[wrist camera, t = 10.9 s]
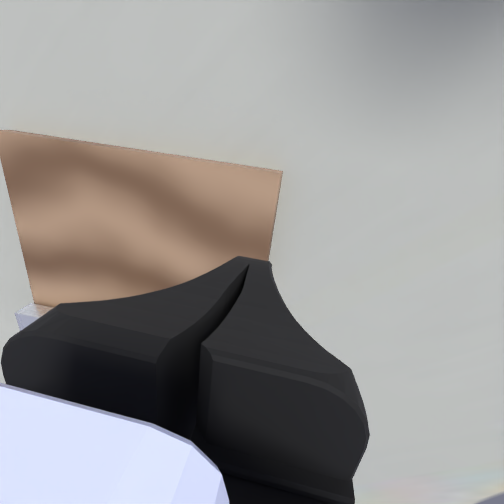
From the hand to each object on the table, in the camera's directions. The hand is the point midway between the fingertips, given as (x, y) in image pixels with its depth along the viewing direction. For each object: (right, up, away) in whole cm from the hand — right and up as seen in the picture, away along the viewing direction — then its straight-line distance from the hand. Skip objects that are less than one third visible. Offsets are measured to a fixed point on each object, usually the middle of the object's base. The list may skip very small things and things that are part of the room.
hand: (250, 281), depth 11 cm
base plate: (-9, -1, +13) cm, 15 cm away
